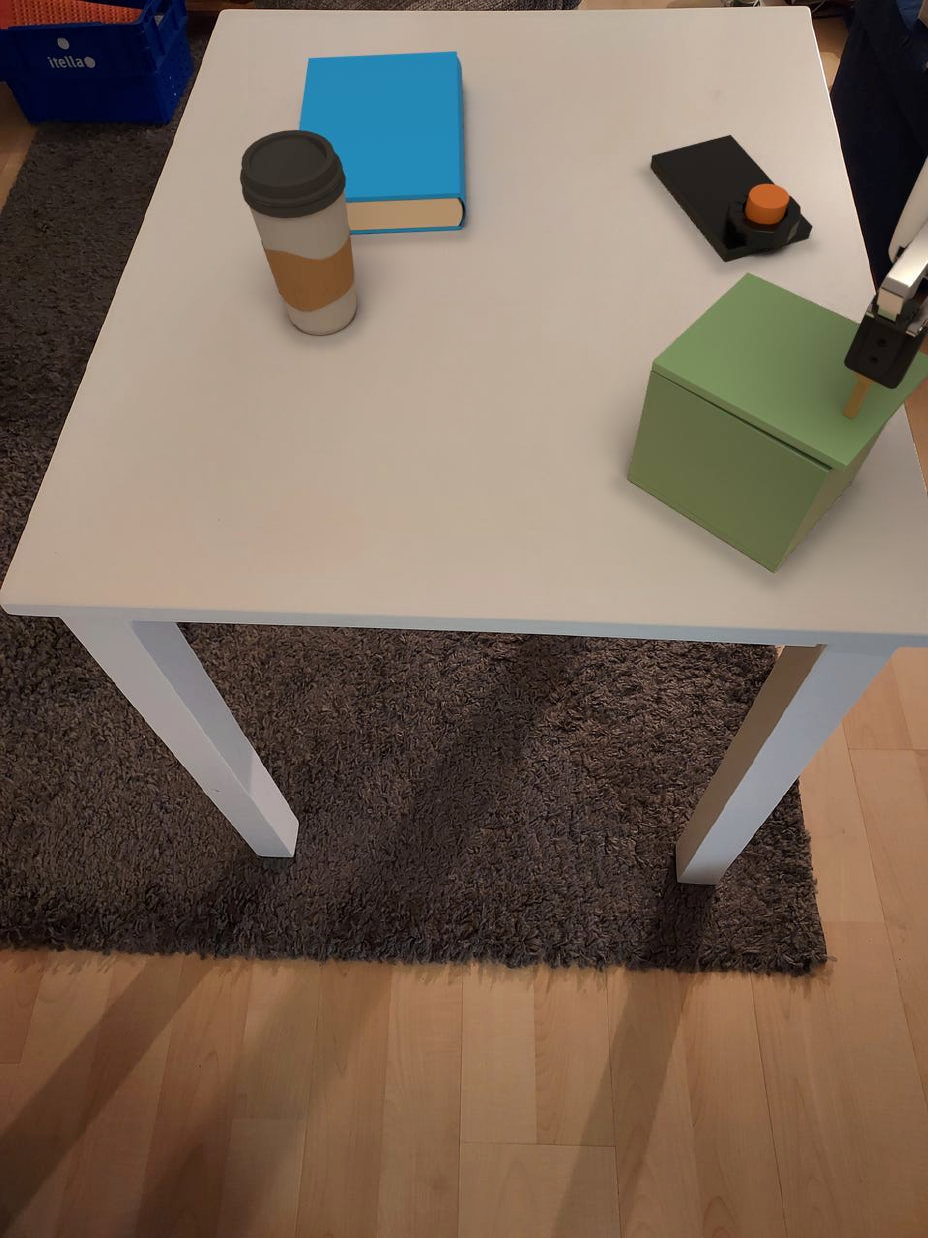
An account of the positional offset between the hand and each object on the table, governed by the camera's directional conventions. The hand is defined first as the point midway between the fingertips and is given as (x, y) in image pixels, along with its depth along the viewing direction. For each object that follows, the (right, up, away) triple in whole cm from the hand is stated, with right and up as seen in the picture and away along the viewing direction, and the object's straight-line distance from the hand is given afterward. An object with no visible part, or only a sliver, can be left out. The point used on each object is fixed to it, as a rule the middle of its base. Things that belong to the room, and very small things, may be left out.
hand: (913, 327), depth 48 cm
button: (+2, +21, +30) cm, 37 cm away
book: (-34, +32, +41) cm, 63 cm away
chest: (-4, -6, +19) cm, 20 cm away
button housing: (0, +25, +36) cm, 43 cm away
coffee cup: (-39, +12, +30) cm, 50 cm away
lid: (-4, 0, +8) cm, 9 cm away
